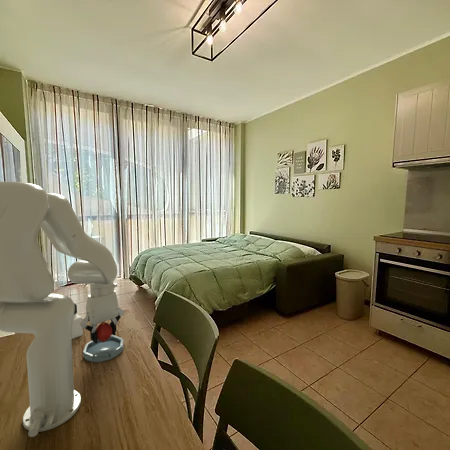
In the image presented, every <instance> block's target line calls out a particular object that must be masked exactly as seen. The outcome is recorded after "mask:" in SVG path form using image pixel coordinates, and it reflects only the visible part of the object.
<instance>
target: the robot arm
mask: <svg viewBox="0 0 450 450" xmlns="http://www.w3.org/2000/svg"><path fill="white" fill-rule="evenodd" d="M40 228H41V230H42V232H44V234H45V236H46V237H47V239H48V240H49V242H50V243H51V244H52V246H53V248H54V249H55V250H56V251H57V252H59V253H61V254H63V255H65V256H68V257H72V258H74V259H78V260H77V261H75V262H73V263H72V264H71V265H70V266H69V268H68V269H67V278H68V280H69V281H70V282H71V283H73V284H78V285H89V290H90V292H89V293H90V294H88V295H87V298H86V306H85V317H84V318H82V322H81V323H80V326H81V327H82V328H83V329H84V330H86V331H89V332H90V333H89V334H90V336H89V337H90V341H93V342H95V343H97V332H96V328H97V327H98V325H99V324H101V323H102V322H104V321H105V322H107V321H110V322H109V325H110V326H111V327H112V335H113V336H114V335H115V336H117V334H116V333H117V325H118V323H119V320H120V319H121V318H122V316H123V314H124V313H125V310H124V309H122V308H120V307H119V302H118V296H117V292H116V290H115V288H117V287H118V283H117V282H116V283H114V282H115V280H116V279H117V276H118V265H117V263H116V262H117V261H116V260H115V258H114V256H113V254H112V252H111V251H110V249H108V248H107V247H106V246H105V245H103V244H102V243H100V242H99V241H98V240H97V239H95V238H93V237H91V236H89V235H88V234H86V232H85V230H84V227H83V225H82V224H81V222H80V220H79V219H78V216H77V214H76V211H74V209H73V206H72V205H71V203H70V200H68V199H67V198H66V197H65V196H64V195H61V194H58V193H50V192H46V190H45V189H44V188H43V187H41V186H40V185H37V184H35V183H32V182H31V183H30V182H24V181H23V182H22V181H0V331H1V332H4V333H16V334H18V333H19V334H21V333H23V334H32V335H34V338H33V340H32V342H31V344H30V345H29V346H28V348H27V350H26V366H27V367H26V368H27V384H28V394H29V396H28V397H29V399H28V400H29V406H28V408H27V409H26V410H25V412H24V414H23V416H22V425H23V428H24V429H26V431H28V433H27V434H28V435H27V436H28V437H30V438H34V437H36V436H37V435H38V434H39V432H46V431H50V430H52V429H55V428H57V427H59V426H61V425H62V424H65V422H67V421H69V420H70V419H71V418H72V417H73V416H75V414H76V413H77V412H78V410H79V408H80V407H81V402H82V398H81V397H82V396H81V394H80V392H78V391H77V390H75V389H74V388H75V387H74V367H73V366H74V364H73V348H72V347H73V346H72V344H73V343H72V340H73V339H72V338H71V336H72V323H73V317H74V311H75V306H74V301H73V299H72V298H71V297H70V296H68V295H65V294H61V293H56V292H55V293H53V291H54V288H55V279H54V276H53V273H52V271H51V269H50V266H49V264H48V263H47V260H46V259H45V257H44V255H43V252H42V250H41V248H40V245H39V241H38V237H39V236H38V235H39V231H40ZM88 322H89V323H90V324H87V323H88Z"/></svg>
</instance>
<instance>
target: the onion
mask: <svg viewBox="0 0 450 450" xmlns="http://www.w3.org/2000/svg"><path fill="white" fill-rule="evenodd" d="M96 332H97V340H99V341H102V342H106V341H107V340H108V339H109V338H110V337H111V335H112V327H111V326H110V323H108V322H107V321H104V322H101V323H99V324H97V327H96Z"/></svg>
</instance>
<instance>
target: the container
mask: <svg viewBox="0 0 450 450" xmlns="http://www.w3.org/2000/svg"><path fill="white" fill-rule="evenodd" d="M74 306H75V311H74V317H73V323H72V336H71V338H72V340H74V339H76V338H78V337H79V338H80V336H83V334H84V330H83V329H84V328H82V327H81V326H80V323H81V322H82V321H83V317H82V316H81V315H79V314H78V305H77V304H76V303H74Z"/></svg>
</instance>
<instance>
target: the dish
mask: <svg viewBox="0 0 450 450" xmlns="http://www.w3.org/2000/svg"><path fill="white" fill-rule="evenodd" d="M124 345H125V344H124V338H123V337H120V336H117V335H111V337H110V338H109V339H108V340H107V341H106V342H102V341H99V340H97V343H95V342H93V341H92V340H90V341H89V342H87V343H86V344H85V345H84V349H83V350H82V355H83V358H84V360H85V361H87V362H90V363H102V362H107V361H109V360H112V359H114V358H117V357H118V356H119V355H120V354H121V353H122V352H123V350H124V347H125V346H124Z"/></svg>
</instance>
